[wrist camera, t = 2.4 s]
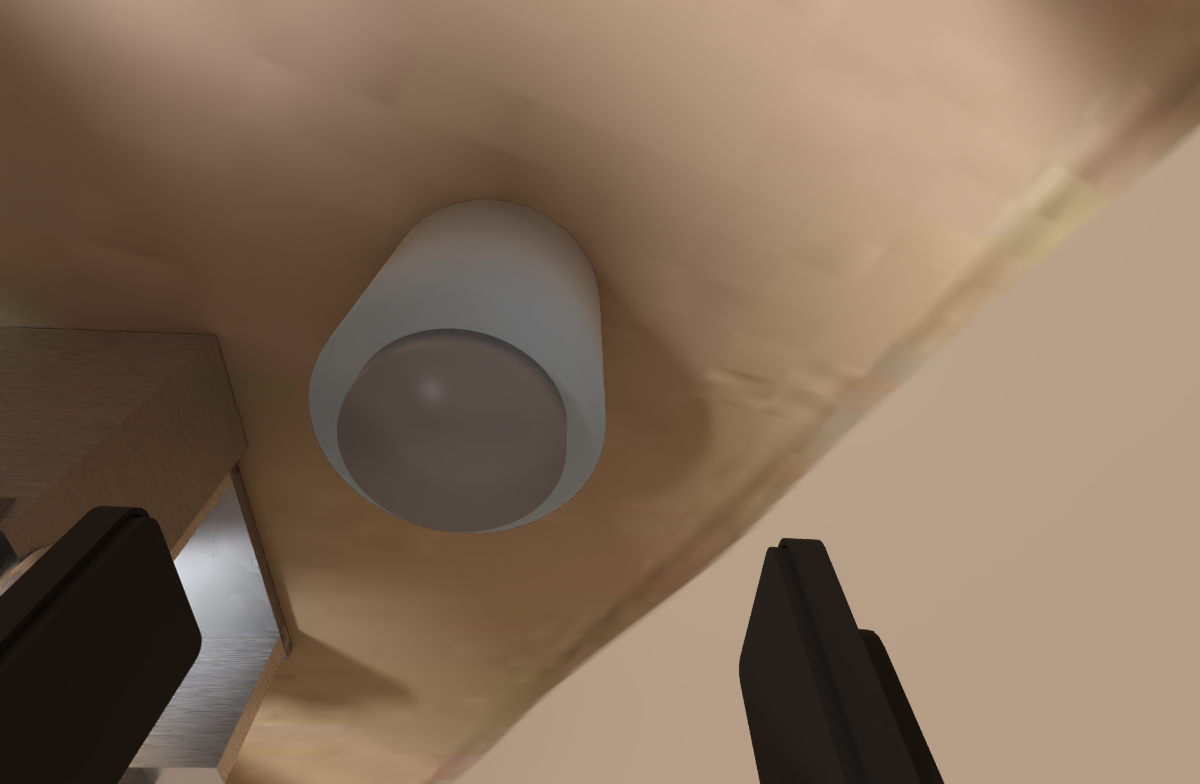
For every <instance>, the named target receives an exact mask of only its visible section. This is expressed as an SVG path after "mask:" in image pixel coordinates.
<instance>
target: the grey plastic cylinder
mask: <svg viewBox="0 0 1200 784" xmlns="http://www.w3.org/2000/svg"><path fill="white" fill-rule="evenodd" d="M309 410H310V418H311V422H312V426H313V429H314V433H315V436H316V438H317V440H318V443H319V445H320V447H321V449H322V451H323V453H324V454H325V456H326V458H327V459H328V461H329V462H330V464H331V466H332V467H333V468H334V469H335V470H336V472H337V473H338V474H339V475H340V476H341V478H342V479H343V480H344V481H345V482H346V483H347V484H348V485H349V486H350V487H351V488H352V489H354V490H355V491H356V492H357V493H358V494H360V495H361V496H362V497H364V498H365V499H366V500H367V501H369V502H370V503H372V504H374V505H375V506H377V507H379V508H380V509H382V510H383V511H385V512H387V513H389V514H392V515H394V516H396V517H398V518H400V519H403V520H405V521H408V522H411V523H413V524H416V525H420V526H423V527H427V528H431V529H436V530H442V531H447V532H458V533H488V532H496V531H503V530H507V529H512V528H516V527H520V526H523V525H525V524H528V523H531V522H534V521H536V520H538V519H540V518H542V517H545V516H547V515H549V514H550V513H552V512H553V511H555V510H557V509H558V508H560V507H561V506H562V505H564V504H565V503H566V502H567V501H569V500H570V499H571V498H572V497H573V496H574V495H575V494H576V493H577V492H578V491H579V490H580V489H581V488H582V487H583V486H584V484H585V483H586V481H587V480H588V479H589V477H590V476H591V474H592V473H593V471H594V469H595V467H596V465H597V463H598V461H599V458H600V455H601V452H602V449H603V445H604V439H605V432H606V410H605V390H604V371H603V351H602V331H601V311H600V295H599V289H598V283H597V280H596V277H595V274H594V271H593V269H592V266H591V264H590V262H589V260H588V258H587V256H586V255H585V253H584V252H583V250H582V249H581V247H580V246H579V245H578V243H577V242H576V241H575V240H574V239H573V237H572V236H571V235H570V234H569V233H567V232H566V231H565V230H564V229H563V228H562V227H561V226H560V225H558V224H557V223H555V222H554V221H553V220H551V219H550V218H548V217H547V216H545V215H543V214H541V213H539V212H537V211H535V210H533V209H530V208H528V207H525V206H523V205H519V204H515V203H511V202H507V201H500V200H471V201H464V202H459V203H456V204H453V205H449V206H446V207H444V208H442V209H440V210H438V211H435V212H433V213H432V214H430V215H429V216H427V217H426V218H424V219H423V220H421V221H420V222H419V223H418V224H417V225H416V226H414V227H413V228H412V229H411V230H410V232H409V233H408V234H407V235H406V236H405V237H404V239H403V240H402V241H401V243H400V244H399V245H398V247H397V248H396V249H395V251H394V252H393V253H392V255H391V256H390V257H389V259H388V260H387V261H386V263H385V264H384V265H383V267H382V268H381V269H380V271H379V272H378V274H377V275H376V276H375V278H374V279H373V280H372V282H371V283H370V284H369V286H368V287H367V288H366V290H365V291H364V292H363V294H362V295H361V296H360V298H359V299H358V300H357V302H356V303H355V304H354V306H353V307H352V308H351V310H350V311H349V312H348V314H347V315H346V316H345V318H344V319H343V321H342V322H341V323H340V325H339V326H338V327H337V329H336V330H335V331H334V333H333V334H332V335H331V337H330V338H329V339H328V341H327V342H326V344H325V346H324V347H323V349H322V351H321V352H320V354H319V356H318V358H317V361H316V363H315V366H314V369H313V371H312V376H311V381H310V386H309Z"/></svg>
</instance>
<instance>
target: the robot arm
mask: <svg viewBox="0 0 1200 784" xmlns="http://www.w3.org/2000/svg"><path fill="white" fill-rule="evenodd" d="M201 645H202V636H201V632H200V629H199V627H198V624H197V622H196V619H195V616H194V614H193V611H192V609H191V606H190V603H189V601H188V598H187V596H186V593H185V590H184V588H183V585H182V583H181V580H180V577H179V575H178V572H177V569H176V567H175V564H174V562H173V559H172V556H171V554H170V551H169V549H168V546H167V543H166V541H165V538H164V536H163V533H162V530H161V528H160V525H159V523H158V522H157V520H155V519H154V518H150V516H149V514H148V513H147V511H146V510H144V509H143V508H138V507H120V506H98V507H94V508H93V509H91V510H90V511H89V512H87V513H86V514H85V515H84V516H83V517H82V518H81V519H80V520H79V521H78V522H77V523H76V524H75V525H74V526H73V527H72V528H71V529H70V530H69V531H68V532H66V533H65V534H64V535H63V536H62V537H61V538H60V539H59V540H58V541H57V542H56V543H55V544H54V545H53V546H52V547H51V548H50V549H49V550H48V551H47V552H46V553H45V554H44V555H43V556H42V557H41V558H39V559H38V560H37V561H36V562H35V563H34V564H33V565H32V566H31V567H30V568H29V569H28V570H27V571H26V572H25V573H24V574H23V575H22V576H21V577H20V578H19V579H18V580H17V581H16V582H15V583H14V584H12V585H11V586H10V587H9V588H8V589H7V590H6V591H5V592H4V593H3V594H2V595H1V596H0V784H118V782H119V781H120V779H121V778H122V776H123V775H124V773H125V771H126V770H127V768H128V767H129V765H130V764H131V762H132V760H133V759H134V757H135V756H136V754H137V753H138V751H139V749H140V748H141V746H142V745H143V743H144V741H145V740H146V738H147V737H148V735H149V734H150V732H151V730H152V729H153V727H154V726H155V724H156V723H157V721H158V719H159V718H160V716H161V715H162V713H163V712H164V710H165V708H166V707H167V705H168V704H169V702H170V701H171V699H172V697H173V696H174V694H175V693H176V691H177V689H178V688H179V686H180V685H181V683H182V682H183V680H184V678H185V677H186V675H187V674H188V672H189V671H190V669H191V667H192V666H193V664H194V663H195V661H196V659H197V657H198V655H199V653H200V650H201ZM739 677H740V684H741V689H742V694H743V699H744V704H745V709H746V715H747V719H748V725H749V730H750V735H751V740H752V745H753V750H754V755H755V760H756V765H757V770H758V775H759V780H760V784H944V782H943V779H942V777H941V775H940V773H939V770H938V768H937V766H936V763H935V761H934V759H933V757H932V754H931V752H930V750H929V747H928V745H927V743H926V741H925V738H924V736H923V734H922V731H921V729H920V727H919V725H918V722H917V720H916V718H915V715H914V713H913V711H912V708H911V706H910V704H909V702H908V699H907V697H906V695H905V693H904V690H903V688H902V686H901V683H900V681H899V679H898V676H897V674H896V672H895V670H894V667H893V665H892V663H891V660H890V658H889V656H888V654H887V651H886V649H885V647H884V645H883V643H882V641H881V640H880V638H879V636H877V634H875V633H874V631H871V630H863V629H858V627H857V625H856V622H855V620H854V617H853V615H852V613H851V610H850V607H849V605H848V602H847V600H846V598H845V595H844V593H843V590H842V588H841V585H840V583H839V581H838V578H837V576H836V573H835V571H834V568H833V566H832V563H831V561H830V558H829V556H828V554H827V551H826V548H825V546H824V545H823V543H822V542H821V541H820V540H813V539H791V538H782V539H781V541H780V543H779V545H778V547H769V548H768V550H767V552H766V556H765V561H764V564H763V568H762V572H761V576H760V580H759V584H758V588H757V592H756V596H755V600H754V604H753V608H752V612H751V616H750V620H749V624H748V628H747V632H746V636H745V640H744V644H743V648H742V652H741V656H740V662H739Z"/></svg>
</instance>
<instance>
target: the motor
mask: <svg viewBox="0 0 1200 784" xmlns="http://www.w3.org/2000/svg"><path fill="white" fill-rule="evenodd" d="M247 448H248V446H247V443H246V439H245V436H244V432H243V429H242V425H241V421H240V418H239V414H238V411H237V407H236V404H235V400H234V397H233V393H232V390H231V386H230V383H229V379H228V376H227V372H226V369H225V365H224V362H223V358H222V355H221V351H220V348H219V344H218V341H217V337H216V335H201V334H175V333H149V332H123V331H97V330H71V329H45V328H19V327H0V596H1V595H2V594H3V593H4V592H5V591H6V590H7V589H8V588H9V587H10V586H11V585H12V584H14V583H15V582H16V581H17V580H18V579H19V578H20V577H21V576H22V575H23V574H24V573H25V572H26V571H27V570H28V569H29V568H30V567H31V566H32V565H33V564H34V563H35V562H36V561H37V560H38V559H39V558H41V557H42V556H43V555H44V554H45V553H46V552H47V551H48V550H49V549H50V548H51V547H52V546H53V545H54V544H55V543H56V542H57V541H58V540H59V539H60V538H61V537H62V536H63V535H64V534H65V533H66V532H68V531H69V530H70V529H71V528H72V527H73V526H74V525H75V524H76V523H77V522H78V521H79V520H80V519H81V518H82V517H83V516H84V515H85V514H86V513H87V512H89V511H90V510H91V509H93V508H94V507H98V506H120V507H138V508H143V509H144V510H146V511H147V513H148V514H149V516H150V518H154V519H155V520H157V522H158V523H159V525H160V528H161V530H162V533H163V536H164V538H165V541H166V543H167V546H168V549H169V551H170V554H171V556H172V559H173V562H174V564H175V567H176V569H177V572H178V575H179V577H180V580H181V583H182V585H183V588H184V590H185V593H186V596H187V598H188V601H189V603H190V606H191V609H192V611H193V614H194V616H195V619H196V622H197V624H198V627H199V629H200V632H201V636H202V645H201V650H200V653H199V655H198V657H197V659H196V661H195V663H194V664H193V666H192V667H191V669H190V671H189V672H188V674H187V675H186V677H185V678H184V680H183V682H182V683H181V685H180V686H179V688H178V689H177V691H176V693H175V694H174V696H173V697H172V699H171V701H170V702H169V704H168V705H167V707H166V708H165V710H164V712H163V713H162V715H161V716H160V718H159V719H158V721H157V723H156V724H155V726H154V727H153V729H152V730H151V732H150V734H149V735H148V737H147V738H146V740H145V741H144V743H143V745H142V746H141V748H140V749H139V751H138V753H137V754H136V756H135V757H134V759H133V760H132V762H131V764H130V765H129V767H128V768H127V770H126V771H125V773H124V775H123V776H122V778H121V779H120V781H119V782H118V784H225V782H226V780H227V778H228V775H229V773H230V771H231V769H232V767H233V764H234V762H235V760H236V758H237V756H238V753H239V751H240V749H241V747H242V745H243V742H244V740H245V738H246V736H247V734H248V731H249V729H250V727H251V725H252V723H253V720H254V718H255V716H256V714H257V712H258V710H259V707H260V705H261V703H262V701H263V699H264V696H265V694H266V692H267V690H268V688H269V685H270V683H271V681H272V679H273V677H274V674H275V672H276V670H277V668H278V666H279V663H280V661H281V660H288V657H289V655H290V653H291V651H292V646H291V642H290V639H289V636H288V632H287V629H286V626H285V622H284V619H283V616H282V612H281V609H280V606H279V602H278V599H277V596H276V592H275V589H274V586H273V582H272V579H271V576H270V572H269V569H268V566H267V562H266V559H265V556H264V552H263V549H262V546H261V542H260V539H259V536H258V532H257V529H256V526H255V522H254V519H253V516H252V512H251V509H250V506H249V502H248V499H247V496H246V492H245V489H244V486H243V482H242V479H241V476H240V472H239V469H238V466H237V461H238V460H239V459H240V457H241V456H242V454H243V453H244V452H245V450H246V449H247Z"/></svg>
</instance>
